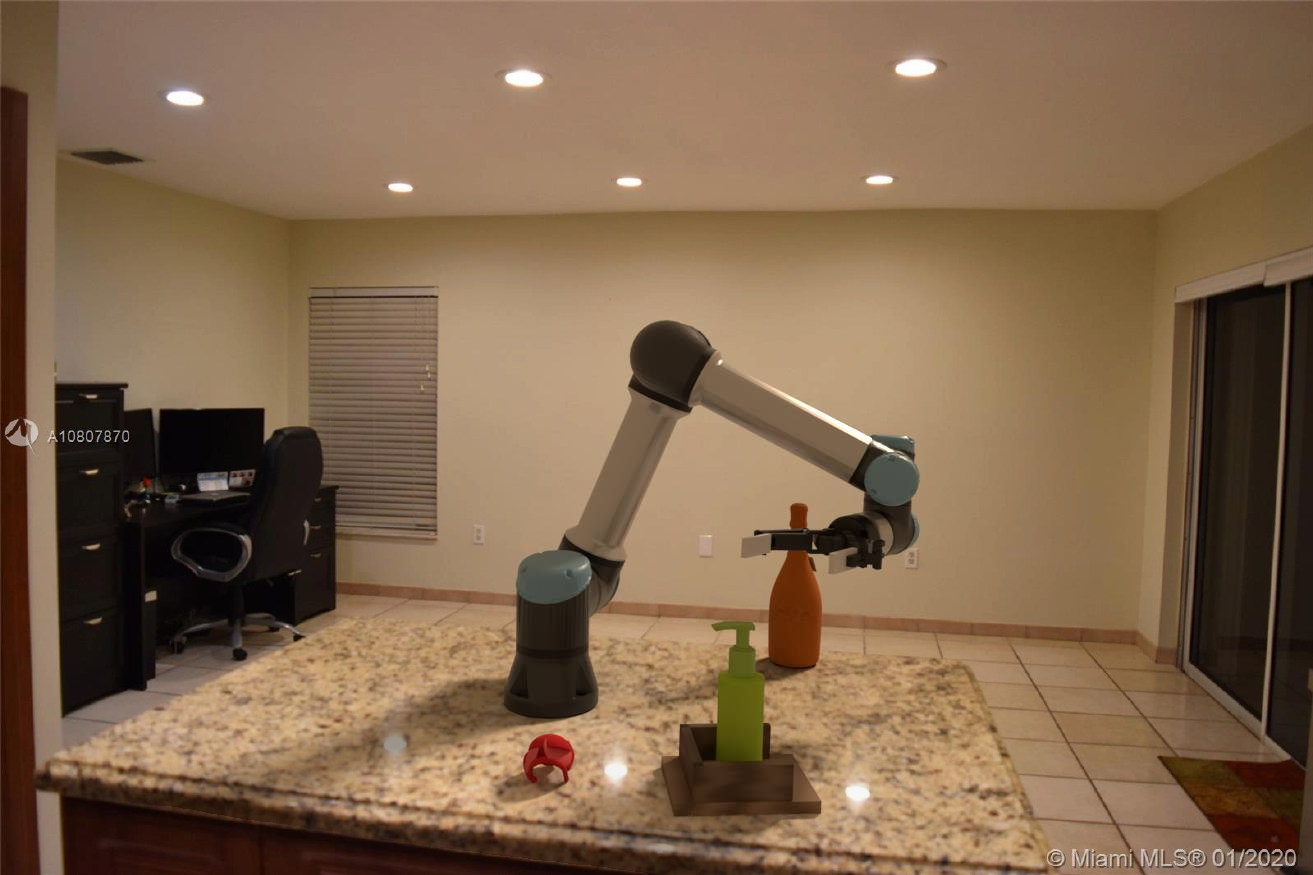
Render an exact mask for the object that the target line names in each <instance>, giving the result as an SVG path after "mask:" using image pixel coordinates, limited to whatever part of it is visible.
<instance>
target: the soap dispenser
mask: <svg viewBox="0 0 1313 875" xmlns="http://www.w3.org/2000/svg"><path fill="white" fill-rule="evenodd" d="M711 627H712V630H714V631H715V632H719V631H720V632H721V631H726V630H736V631H735V632H736V636H735V644H734V645H731V646H730V647H729V649H728V669H726V670H723V671H721V672H719V674H718V676H717V677H718V680H717V681H718V682H717V711H716V712H717V714H716V715H717V717H716V718H717V719H716V723H717V743H716V762H722V761H762V748H763V723H764V714H765V713H764V712H765V711H764V710H765V683H766V680H765V679H766V678H765V676H764V674H763V673H761V672H759V671H756V658H757V657H756V653H757V651H756V649H755V647H753V646H752V645H750V634H751V633H750V632H751V631H752V632H753V631H754V632H755V631H756V625H755V623H754V622H752V621H743V620H742V621H741V620H725V621H719V622H716V623H712V624H711Z"/></svg>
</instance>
